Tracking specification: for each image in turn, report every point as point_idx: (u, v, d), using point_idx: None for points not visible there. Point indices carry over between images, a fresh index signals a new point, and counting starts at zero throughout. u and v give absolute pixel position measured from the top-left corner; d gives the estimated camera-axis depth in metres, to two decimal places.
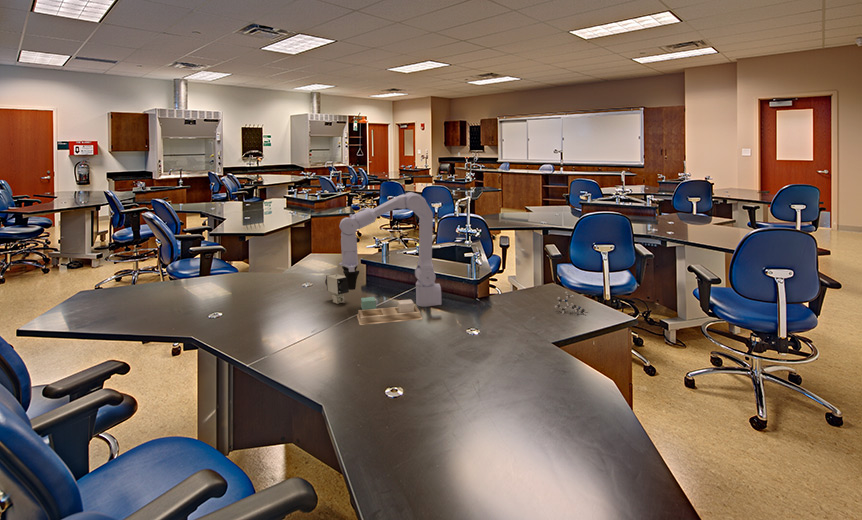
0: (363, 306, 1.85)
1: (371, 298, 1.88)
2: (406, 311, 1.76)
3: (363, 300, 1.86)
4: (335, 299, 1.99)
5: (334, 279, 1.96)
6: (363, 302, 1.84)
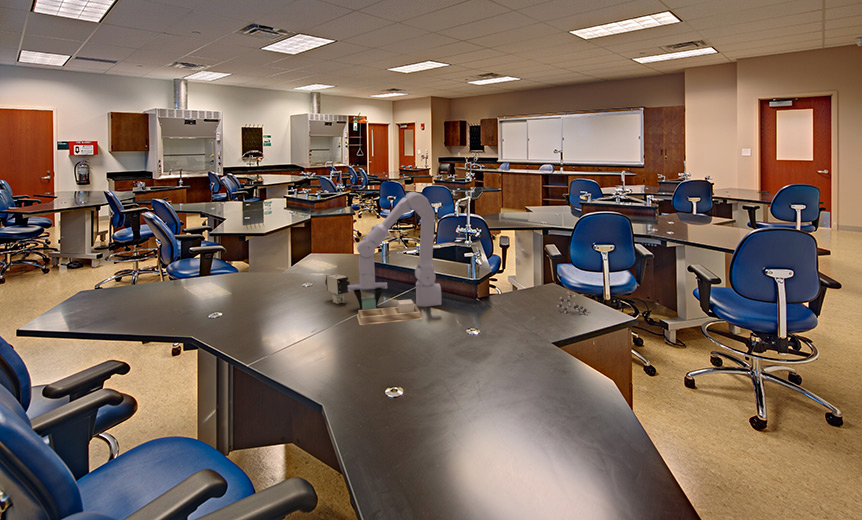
0: (363, 306, 1.85)
1: (371, 298, 1.88)
2: (406, 311, 1.76)
3: (363, 300, 1.86)
4: (335, 299, 1.99)
5: (334, 279, 1.96)
6: (363, 302, 1.84)
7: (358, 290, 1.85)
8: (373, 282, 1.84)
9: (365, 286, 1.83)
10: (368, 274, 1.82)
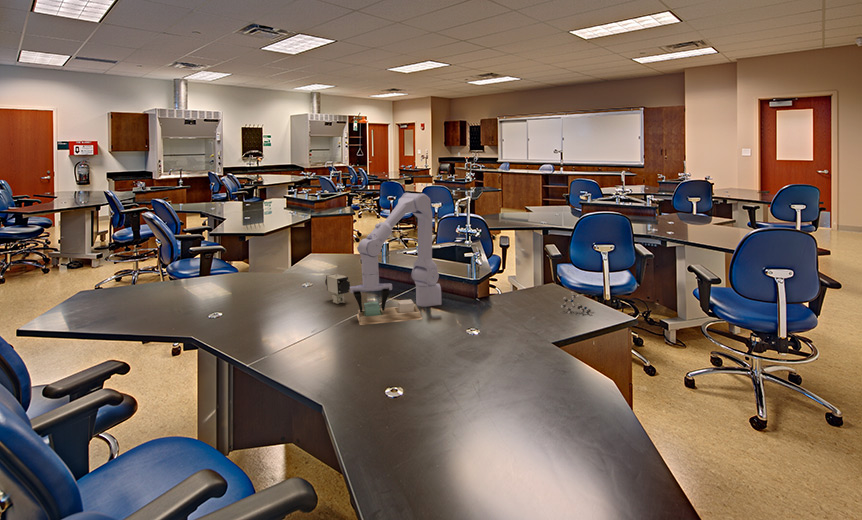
0: (366, 312, 1.73)
1: (375, 303, 1.77)
2: (406, 311, 1.76)
3: (366, 305, 1.74)
4: (335, 299, 1.99)
5: (334, 279, 1.96)
6: (366, 307, 1.73)
7: None
8: (377, 283, 1.72)
9: (368, 287, 1.71)
10: (372, 275, 1.70)
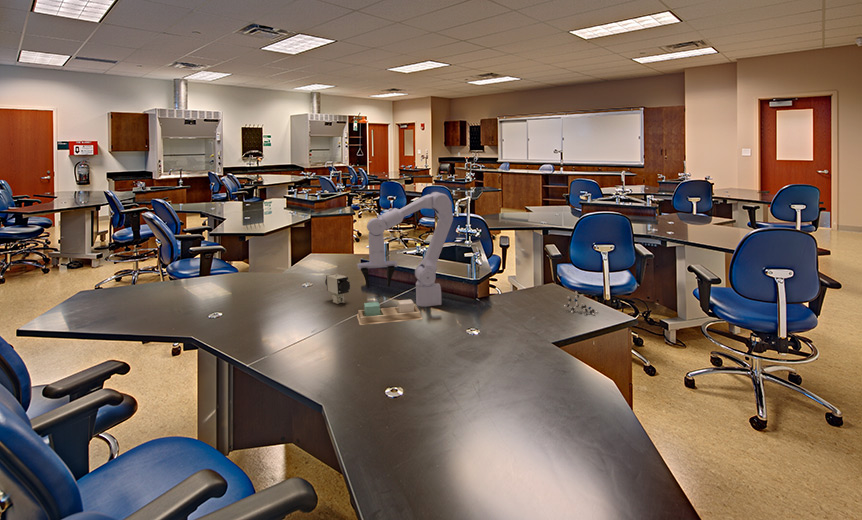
0: (366, 312, 1.73)
1: (375, 303, 1.77)
2: (406, 311, 1.76)
3: (366, 305, 1.74)
4: (335, 299, 1.99)
5: (334, 279, 1.96)
6: (366, 307, 1.73)
7: None
8: (383, 260, 1.84)
9: (375, 264, 1.82)
10: (378, 252, 1.82)
